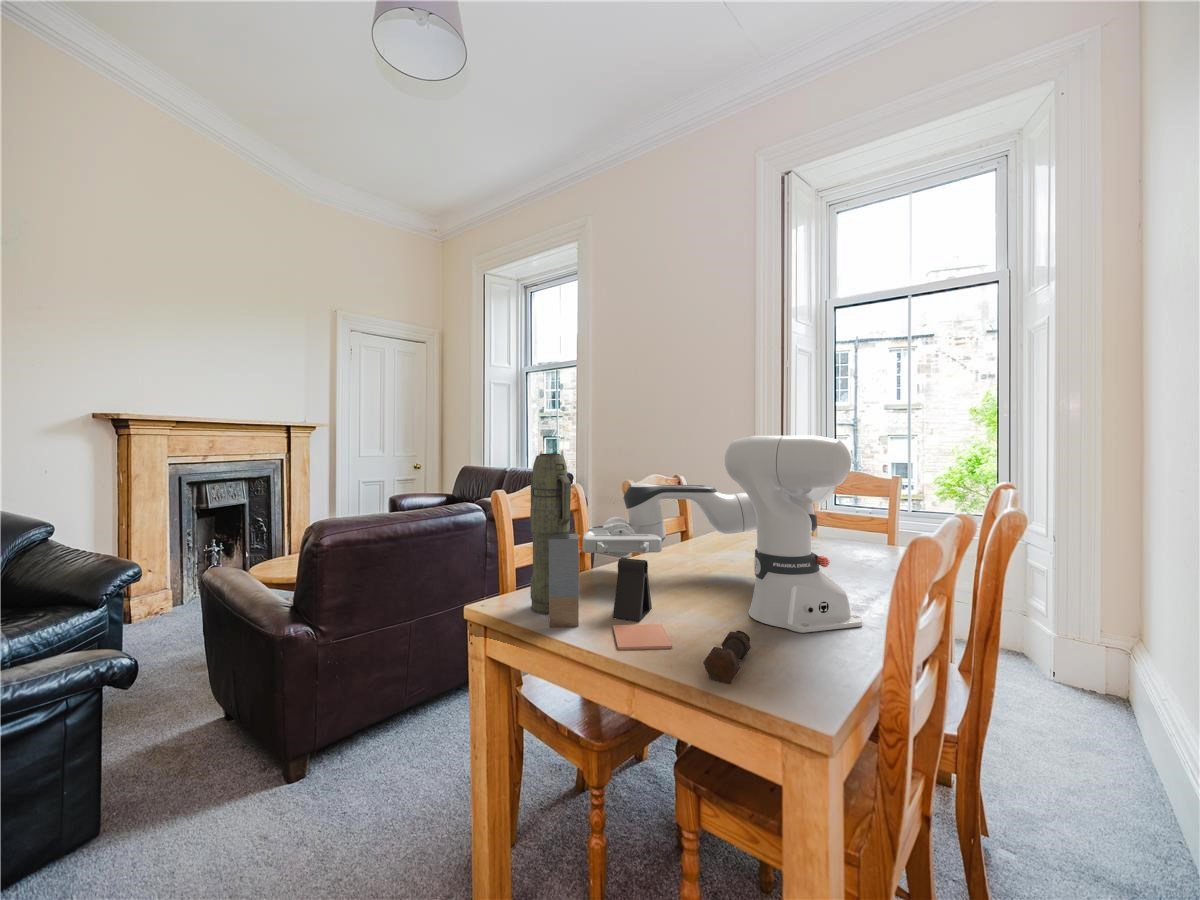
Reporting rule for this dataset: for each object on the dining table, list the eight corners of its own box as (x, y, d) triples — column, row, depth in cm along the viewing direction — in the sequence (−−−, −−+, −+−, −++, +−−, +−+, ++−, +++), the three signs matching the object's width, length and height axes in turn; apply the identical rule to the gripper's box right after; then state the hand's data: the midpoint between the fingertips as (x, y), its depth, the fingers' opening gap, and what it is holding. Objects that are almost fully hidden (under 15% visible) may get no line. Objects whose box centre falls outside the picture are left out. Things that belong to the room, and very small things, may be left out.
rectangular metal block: (579, 616, 113) (579, 533, 112) (580, 626, 107) (579, 539, 106) (550, 617, 112) (549, 533, 112) (549, 627, 106) (548, 539, 106)
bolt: (745, 659, 95) (724, 692, 82) (722, 641, 97) (697, 670, 84) (762, 634, 94) (743, 663, 81) (738, 616, 96) (716, 642, 83)
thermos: (557, 619, 111) (557, 454, 110) (518, 608, 118) (517, 453, 117) (583, 608, 118) (583, 453, 117) (544, 598, 125) (544, 452, 124)
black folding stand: (627, 606, 120) (626, 554, 119) (652, 609, 117) (652, 556, 117) (612, 618, 111) (612, 562, 111) (639, 622, 109) (639, 565, 109)
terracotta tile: (661, 626, 107) (661, 624, 107) (672, 648, 96) (672, 645, 96) (613, 627, 106) (613, 625, 106) (618, 649, 95) (618, 647, 95)
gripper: (657, 550, 141) (666, 562, 127) (582, 550, 140) (582, 563, 126) (658, 527, 141) (667, 536, 127) (582, 527, 140) (583, 537, 126)
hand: (624, 549), depth 126 cm, fingers open, 8 cm apart
